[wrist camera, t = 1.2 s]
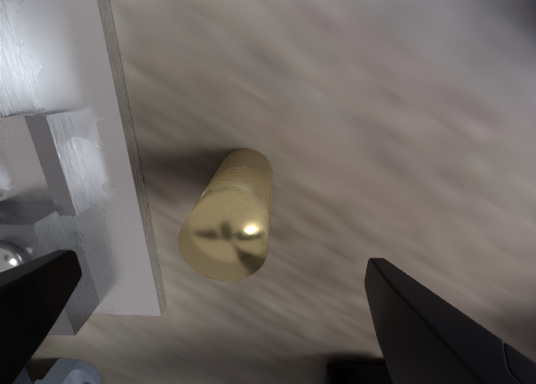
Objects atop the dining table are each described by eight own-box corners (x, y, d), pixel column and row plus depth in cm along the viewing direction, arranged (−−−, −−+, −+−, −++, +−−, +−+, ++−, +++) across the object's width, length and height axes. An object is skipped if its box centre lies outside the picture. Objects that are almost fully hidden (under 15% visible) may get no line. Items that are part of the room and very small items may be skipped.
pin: (272, 199, 16) (268, 282, 10) (221, 198, 16) (184, 280, 10) (272, 148, 15) (268, 206, 9) (218, 148, 15) (173, 204, 9)
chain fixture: (166, 304, 20) (140, 359, 16) (4, 299, 20) (-59, 351, 16) (88, -112, 11) (-11, -207, 7) (-197, -107, 11) (-431, -195, 8)
